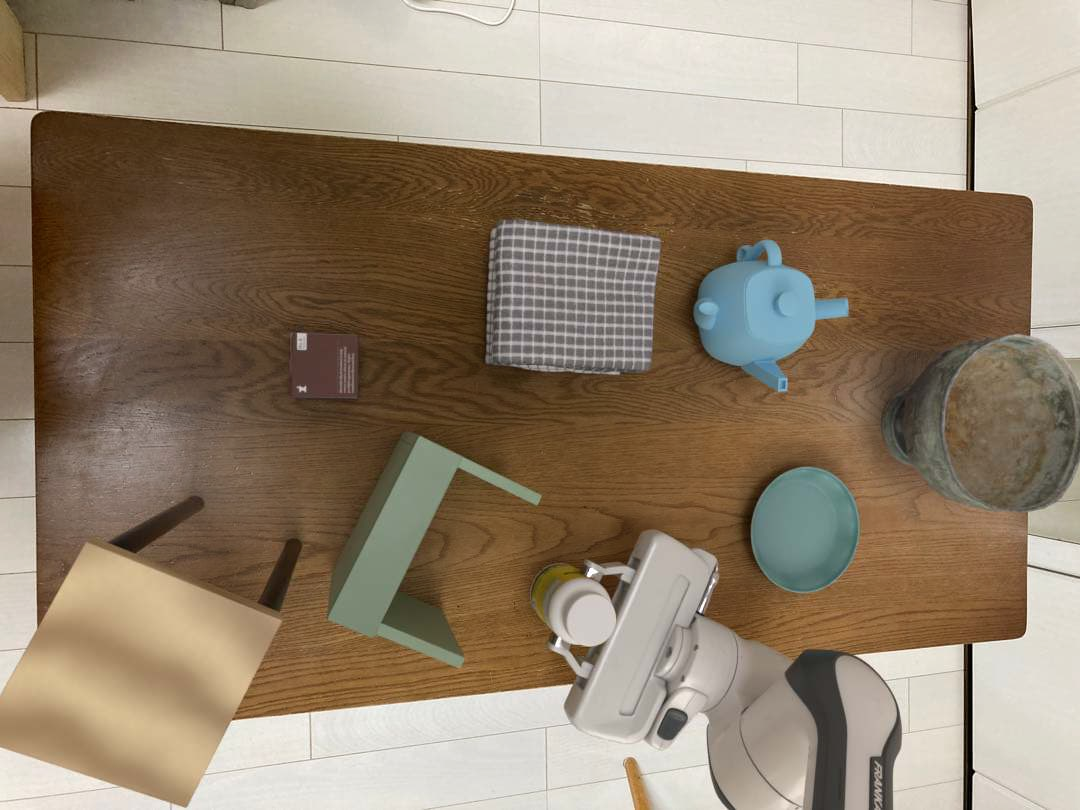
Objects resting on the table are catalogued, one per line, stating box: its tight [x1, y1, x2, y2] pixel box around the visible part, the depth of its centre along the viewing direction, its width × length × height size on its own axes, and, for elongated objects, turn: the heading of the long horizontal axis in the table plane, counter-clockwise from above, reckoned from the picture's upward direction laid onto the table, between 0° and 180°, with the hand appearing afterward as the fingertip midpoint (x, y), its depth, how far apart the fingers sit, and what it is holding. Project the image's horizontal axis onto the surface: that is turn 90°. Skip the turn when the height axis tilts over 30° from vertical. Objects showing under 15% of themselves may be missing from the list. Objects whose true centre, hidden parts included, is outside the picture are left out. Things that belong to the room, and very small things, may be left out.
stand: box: [0, 537, 285, 809], centre depth 42 cm, size 12×12×2 cm
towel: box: [484, 218, 662, 376], centre depth 74 cm, size 15×18×8 cm
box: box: [289, 331, 360, 402], centre depth 68 cm, size 6×6×7 cm
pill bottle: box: [529, 562, 616, 647], centre depth 68 cm, size 6×6×11 cm
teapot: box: [693, 239, 850, 392], centre depth 78 cm, size 15×14×11 cm
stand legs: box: [106, 495, 303, 612], centre depth 56 cm, size 12×12×26 cm
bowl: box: [881, 333, 1080, 513], centre depth 82 cm, size 20×19×15 cm
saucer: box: [750, 466, 861, 594], centre depth 84 cm, size 15×15×3 cm
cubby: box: [326, 430, 543, 669], centre depth 66 cm, size 16×12×16 cm
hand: (566, 603), depth 68 cm, fingers closed on pill bottle, 6 cm apart
